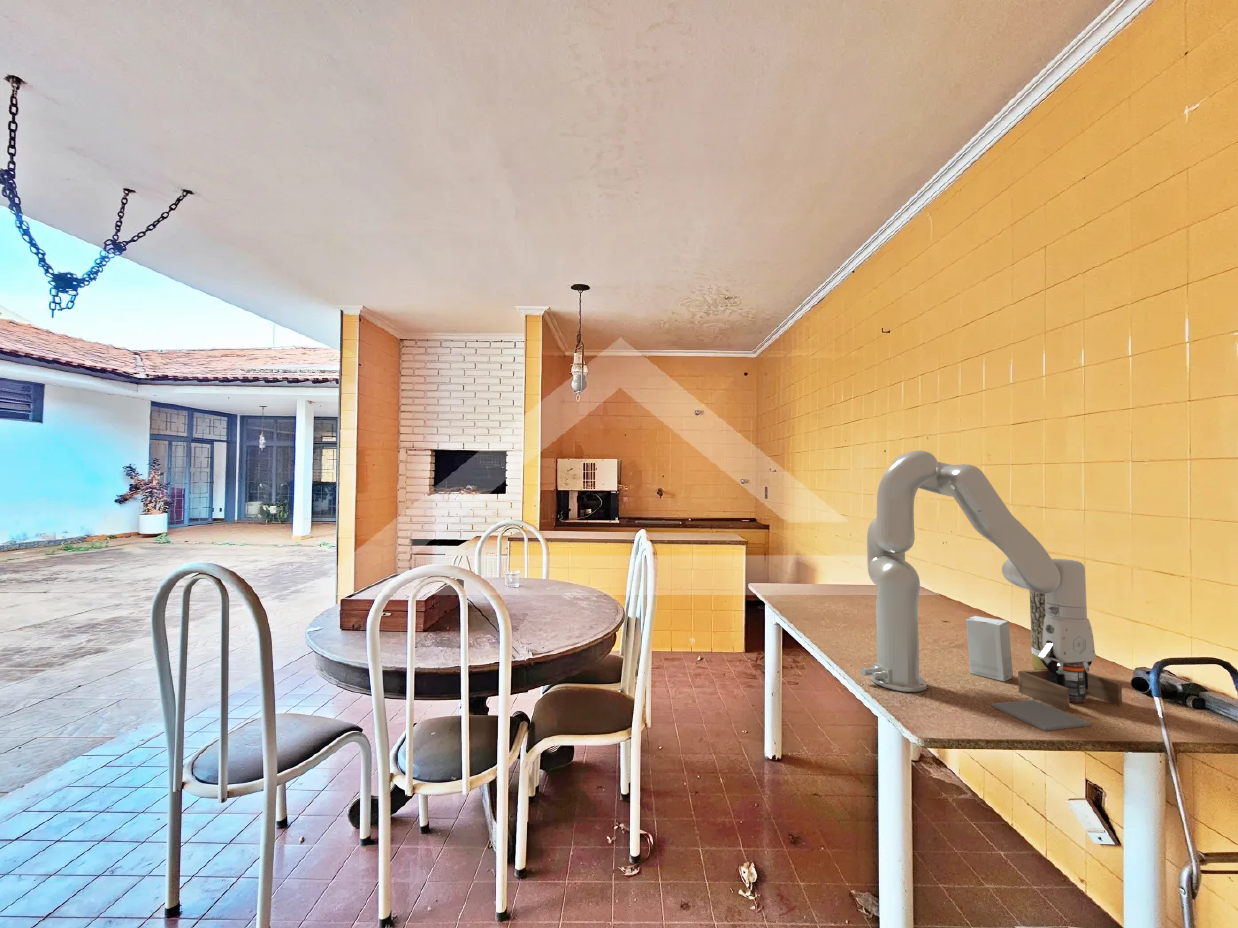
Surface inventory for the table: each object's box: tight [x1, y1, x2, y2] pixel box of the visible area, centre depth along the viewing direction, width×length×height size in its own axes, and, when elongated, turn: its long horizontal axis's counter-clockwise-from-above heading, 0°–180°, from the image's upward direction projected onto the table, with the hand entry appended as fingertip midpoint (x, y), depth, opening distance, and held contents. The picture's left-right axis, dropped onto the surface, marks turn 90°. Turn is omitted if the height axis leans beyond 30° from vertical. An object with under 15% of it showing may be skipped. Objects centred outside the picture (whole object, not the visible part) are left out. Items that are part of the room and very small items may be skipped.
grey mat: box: [990, 699, 1092, 732], centre depth 111 cm, size 12×12×1 cm
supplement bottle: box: [1054, 657, 1087, 704], centre depth 121 cm, size 6×6×11 cm
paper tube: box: [1029, 590, 1046, 670], centre depth 139 cm, size 7×7×25 cm
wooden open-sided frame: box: [1017, 669, 1123, 712], centre depth 120 cm, size 16×11×5 cm
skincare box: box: [965, 615, 1014, 682], centre depth 135 cm, size 8×6×15 cm
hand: (1068, 687), depth 120 cm, fingers closed on supplement bottle, 6 cm apart
